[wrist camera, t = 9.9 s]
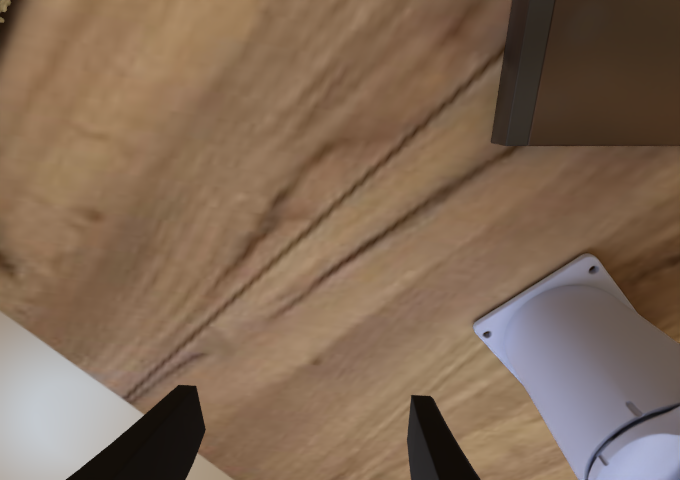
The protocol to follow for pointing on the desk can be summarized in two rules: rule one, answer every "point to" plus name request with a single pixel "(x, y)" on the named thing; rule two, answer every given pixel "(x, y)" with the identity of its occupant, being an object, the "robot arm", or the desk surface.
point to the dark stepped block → (590, 74)
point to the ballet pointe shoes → (4, 7)
